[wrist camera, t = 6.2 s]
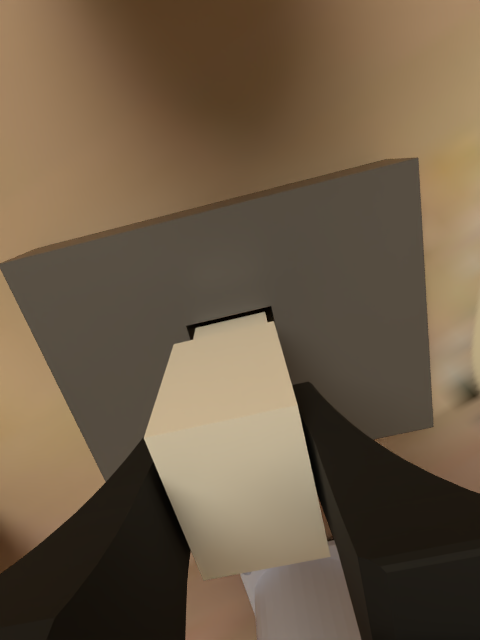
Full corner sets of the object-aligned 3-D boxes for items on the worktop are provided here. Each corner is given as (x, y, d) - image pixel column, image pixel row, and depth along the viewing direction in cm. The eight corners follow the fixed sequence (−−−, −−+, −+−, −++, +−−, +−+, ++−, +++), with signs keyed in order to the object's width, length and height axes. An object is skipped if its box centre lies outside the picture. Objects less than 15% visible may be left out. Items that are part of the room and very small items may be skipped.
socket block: (406, 391, 21) (433, 426, 18) (126, 451, 22) (111, 493, 19) (385, 159, 16) (418, 157, 13) (35, 248, 17) (-2, 264, 14)
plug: (287, 388, 17) (330, 556, 10) (214, 404, 17) (203, 580, 10) (265, 290, 15) (297, 404, 8) (184, 309, 16) (143, 438, 8)
